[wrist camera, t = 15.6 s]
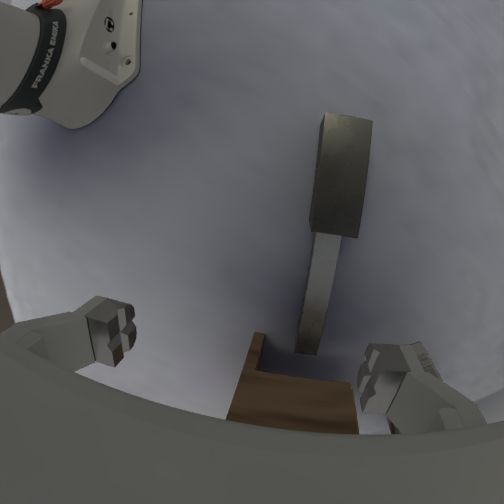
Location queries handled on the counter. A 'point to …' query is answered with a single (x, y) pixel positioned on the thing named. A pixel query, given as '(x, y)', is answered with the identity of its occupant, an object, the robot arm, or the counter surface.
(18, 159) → the counter surface
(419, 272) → the counter surface
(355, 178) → the dark grey elongated piece
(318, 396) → the walnut cabinet
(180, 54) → the counter surface
